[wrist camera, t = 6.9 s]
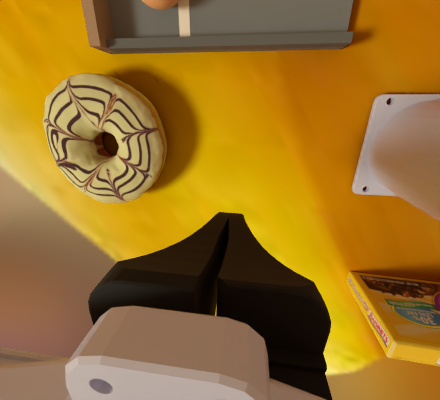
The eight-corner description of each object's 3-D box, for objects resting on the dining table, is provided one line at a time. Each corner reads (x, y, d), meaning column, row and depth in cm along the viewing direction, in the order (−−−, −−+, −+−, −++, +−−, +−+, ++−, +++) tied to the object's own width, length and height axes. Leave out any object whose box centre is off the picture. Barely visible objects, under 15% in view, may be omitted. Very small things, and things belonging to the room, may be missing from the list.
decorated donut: (57, 160, 23) (23, 170, 20) (82, 52, 19) (44, 40, 15) (147, 210, 24) (130, 227, 20) (190, 117, 20) (177, 120, 16)
